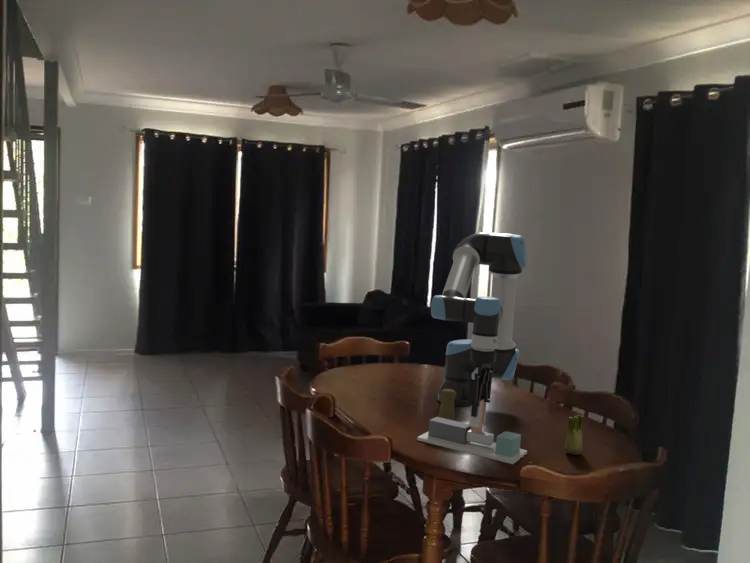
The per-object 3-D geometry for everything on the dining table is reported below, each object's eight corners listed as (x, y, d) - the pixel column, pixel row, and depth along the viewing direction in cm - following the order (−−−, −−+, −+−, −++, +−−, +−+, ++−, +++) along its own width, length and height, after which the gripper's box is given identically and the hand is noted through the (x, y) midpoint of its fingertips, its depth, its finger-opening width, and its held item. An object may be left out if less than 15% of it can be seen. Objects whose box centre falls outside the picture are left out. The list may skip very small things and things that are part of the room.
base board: (417, 440, 221) (417, 436, 221) (434, 431, 231) (434, 428, 231) (513, 464, 205) (513, 460, 205) (527, 453, 216) (527, 450, 216)
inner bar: (440, 434, 221) (443, 393, 220) (445, 431, 225) (449, 391, 224) (488, 446, 213) (492, 403, 212) (493, 443, 217) (497, 401, 215)
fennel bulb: (566, 456, 216) (569, 417, 215) (560, 450, 221) (564, 412, 220) (584, 457, 216) (588, 418, 215) (579, 451, 221) (583, 413, 220)
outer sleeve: (428, 435, 223) (429, 420, 222) (435, 432, 227) (436, 416, 227) (463, 444, 217) (465, 428, 216) (470, 440, 221) (471, 424, 221)
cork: (456, 420, 245) (459, 388, 244) (452, 425, 240) (455, 392, 239) (439, 417, 247) (442, 386, 246) (435, 422, 242) (437, 390, 241)
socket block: (495, 453, 211) (496, 436, 210) (503, 447, 217) (505, 431, 216) (511, 457, 208) (512, 440, 208) (519, 451, 214) (521, 434, 214)
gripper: (484, 354, 205) (477, 434, 208) (506, 347, 220) (499, 421, 222) (460, 350, 209) (453, 428, 212) (483, 343, 224) (476, 416, 226)
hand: (477, 424), depth 217 cm, fingers closed on inner bar, 4 cm apart
